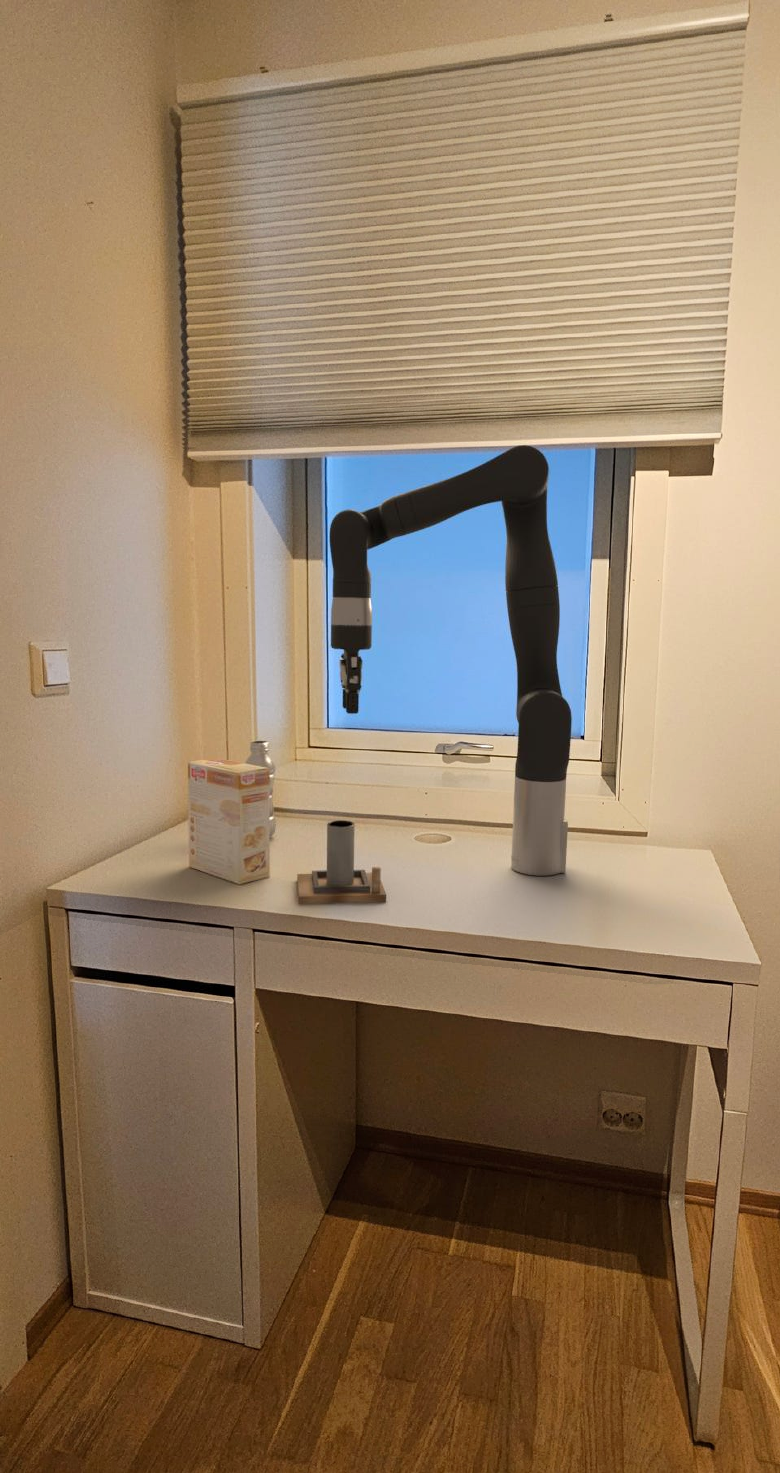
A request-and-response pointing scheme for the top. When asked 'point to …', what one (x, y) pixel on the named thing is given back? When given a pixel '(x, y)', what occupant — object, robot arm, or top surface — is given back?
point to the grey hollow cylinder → (340, 852)
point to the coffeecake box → (229, 819)
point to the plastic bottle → (264, 760)
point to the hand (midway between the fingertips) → (350, 710)
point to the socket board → (341, 888)
